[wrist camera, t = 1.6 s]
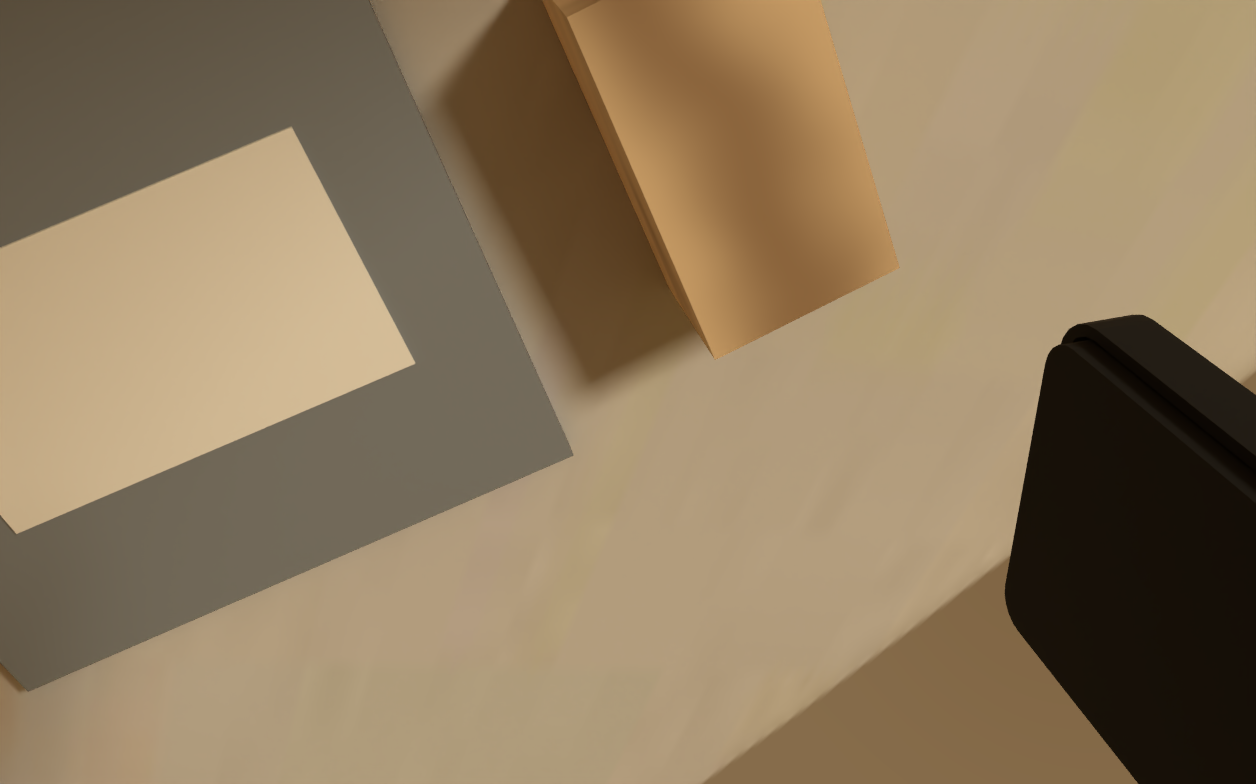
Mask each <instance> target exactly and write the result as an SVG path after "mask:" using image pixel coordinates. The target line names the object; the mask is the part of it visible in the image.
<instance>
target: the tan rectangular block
mask: <svg viewBox="0 0 1256 784" xmlns="http://www.w3.org/2000/svg"><path fill="white" fill-rule="evenodd" d="M542 2H543V4H544V6H545V8H546V11H547V13H548V15H549V18H550V20H551V22H552V24H553V27H554V29H555V31H556V33H557V36H558V38H559V40H560V42H561V45H562V47H563V49H564V51H565V54H566V56H567V58H568V61H569V63H570V65H571V67H572V70H573V72H574V74H575V76H576V79H577V81H578V83H579V85H580V88H581V90H582V92H583V95H584V97H585V99H586V101H587V104H588V106H589V108H590V110H591V113H592V115H593V117H594V119H595V122H596V124H597V126H598V128H599V131H600V133H601V135H602V138H603V140H604V142H605V144H606V147H607V149H608V151H609V153H610V156H611V158H612V160H613V162H614V165H615V167H616V169H617V171H618V174H619V176H620V178H621V181H622V183H623V185H624V187H625V190H626V192H627V194H628V196H629V199H630V201H631V203H632V205H633V208H634V210H635V212H636V214H637V217H638V219H639V221H640V224H641V226H642V228H643V230H644V233H645V235H646V237H647V239H648V242H649V244H650V246H651V248H652V251H653V253H654V255H655V257H656V260H657V262H658V264H659V267H660V269H661V271H662V273H663V276H664V278H665V280H666V282H667V285H668V287H669V289H670V291H671V292H672V294H673V295H674V297H675V298H676V300H677V302H678V303H679V305H680V306H681V308H682V309H683V311H684V312H685V314H686V315H687V317H688V319H689V320H690V322H691V323H692V325H693V326H694V328H695V329H696V331H697V333H698V334H699V336H700V337H701V339H702V340H703V342H704V343H705V345H706V347H707V348H708V350H709V351H710V353H711V354H712V356H713V357H714V359H715V360H716V359H718V358H720V357H722V356H724V355H726V354H728V353H730V352H732V351H734V350H736V349H738V348H740V347H742V346H744V345H746V344H748V343H750V342H752V341H754V340H756V339H758V338H760V337H762V336H764V335H766V334H768V333H770V332H772V331H774V330H776V329H778V328H780V327H782V326H784V325H786V324H788V323H790V322H792V321H794V320H796V319H798V318H800V317H802V316H804V315H806V314H808V313H810V312H812V311H814V310H816V309H818V308H820V307H822V306H824V305H826V304H828V303H830V302H832V301H834V300H836V299H838V298H840V297H842V296H844V295H846V294H848V293H850V292H852V291H854V290H856V289H858V288H860V287H862V286H864V285H866V284H868V283H870V282H872V281H874V280H876V279H878V278H880V277H882V276H884V275H886V274H888V273H890V272H892V271H894V270H896V269H898V268H899V264H898V261H897V257H896V254H895V251H894V247H893V244H892V241H891V237H890V234H889V230H888V227H887V224H886V220H885V217H884V213H883V210H882V207H881V203H880V200H879V197H878V193H877V190H876V186H875V183H874V180H873V176H872V173H871V169H870V166H869V163H868V159H867V156H866V153H865V149H864V146H863V142H862V139H861V136H860V132H859V129H858V125H857V122H856V119H855V115H854V112H853V109H852V105H851V102H850V98H849V95H848V92H847V88H846V85H845V81H844V78H843V75H842V71H841V68H840V65H839V61H838V58H837V54H836V51H835V48H834V44H833V41H832V37H831V34H830V31H829V27H828V24H827V21H826V17H825V14H824V10H823V7H822V4H821V0H542Z"/></svg>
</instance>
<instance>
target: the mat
mask: <svg viewBox="0 0 1256 784" xmlns="http://www.w3.org/2000/svg"><path fill="white" fill-rule="evenodd" d="M571 456H573V453H572V450H571V448H570V445H569V443H568V441H567V439H566V436H565V434H564V432H563V430H562V428H561V425H560V423H559V421H558V419H557V416H556V414H555V412H554V410H553V408H552V405H551V403H550V401H549V399H548V396H547V394H546V392H545V390H544V388H543V385H542V383H541V381H540V379H539V377H538V374H537V372H536V370H535V368H534V365H533V363H532V361H531V359H530V357H529V354H528V352H527V350H526V348H525V346H524V343H523V341H522V339H521V337H520V334H519V332H518V330H517V328H516V326H515V323H514V321H513V319H512V317H511V314H510V312H509V310H508V308H507V306H506V303H505V301H504V299H503V297H502V295H501V292H500V290H499V288H498V286H497V283H496V281H495V279H494V277H493V275H492V272H491V270H490V268H489V266H488V263H487V261H486V259H485V257H484V255H483V252H482V250H481V248H480V246H479V244H478V241H477V239H476V237H475V235H474V232H473V230H472V228H471V226H470V224H469V221H468V219H467V217H466V215H465V213H464V210H463V208H462V206H461V204H460V201H459V199H458V197H457V195H456V193H455V190H454V188H453V186H452V184H451V181H450V179H449V177H448V175H447V173H446V170H445V168H444V166H443V164H442V162H441V159H440V157H439V155H438V153H437V150H436V148H435V146H434V144H433V142H432V139H431V137H430V135H429V133H428V130H427V128H426V126H425V124H424V122H423V119H422V117H421V115H420V113H419V111H418V108H417V106H416V104H415V102H414V99H413V97H412V95H411V93H410V91H409V88H408V86H407V84H406V82H405V80H404V77H403V75H402V73H401V71H400V68H399V66H398V64H397V62H396V60H395V57H394V55H393V53H392V51H391V48H390V46H389V44H388V42H387V40H386V37H385V35H384V33H383V31H382V29H381V26H380V24H379V22H378V20H377V17H376V15H375V13H374V11H373V9H372V6H371V4H370V2H369V0H0V663H1V664H2V665H3V666H4V667H5V668H6V669H7V670H8V671H9V672H10V673H11V674H12V676H13V677H14V678H15V679H16V680H17V681H18V682H19V683H20V684H21V685H22V686H23V687H24V688H25V689H26V690H27V691H31V690H33V689H35V688H38V687H40V686H42V685H45V684H47V683H49V682H51V681H54V680H56V679H58V678H61V677H63V676H65V675H68V674H70V673H72V672H75V671H77V670H79V669H81V668H84V667H86V666H88V665H91V664H93V663H95V662H98V661H100V660H102V659H105V658H107V657H109V656H111V655H114V654H116V653H118V652H121V651H123V650H125V649H128V648H130V647H132V646H135V645H137V644H139V643H142V642H144V641H146V640H148V639H151V638H153V637H155V636H158V635H160V634H162V633H165V632H167V631H169V630H172V629H174V628H176V627H178V626H181V625H183V624H185V623H188V622H190V621H192V620H195V619H197V618H199V617H202V616H204V615H206V614H208V613H211V612H213V611H215V610H218V609H220V608H222V607H225V606H227V605H229V604H232V603H234V602H236V601H239V600H241V599H243V598H245V597H248V596H250V595H252V594H255V593H257V592H259V591H262V590H264V589H266V588H269V587H271V586H273V585H275V584H278V583H280V582H282V581H285V580H287V579H289V578H292V577H294V576H296V575H299V574H301V573H303V572H305V571H308V570H310V569H312V568H315V567H317V566H319V565H322V564H324V563H326V562H329V561H331V560H333V559H336V558H338V557H340V556H342V555H345V554H347V553H349V552H352V551H354V550H356V549H359V548H361V547H363V546H366V545H368V544H370V543H372V542H375V541H377V540H379V539H382V538H384V537H386V536H389V535H391V534H393V533H396V532H398V531H400V530H402V529H405V528H407V527H409V526H412V525H414V524H416V523H419V522H421V521H423V520H426V519H428V518H430V517H433V516H435V515H437V514H439V513H442V512H444V511H446V510H449V509H451V508H453V507H456V506H458V505H460V504H463V503H465V502H467V501H469V500H472V499H474V498H476V497H479V496H481V495H483V494H486V493H488V492H490V491H493V490H495V489H497V488H499V487H502V486H504V485H506V484H509V483H511V482H513V481H516V480H518V479H520V478H523V477H525V476H527V475H530V474H532V473H534V472H536V471H539V470H541V469H543V468H546V467H548V466H550V465H553V464H555V463H557V462H560V461H562V460H564V459H566V458H569V457H571Z"/></svg>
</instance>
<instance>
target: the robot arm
mask: <svg viewBox="0 0 1256 784" xmlns="http://www.w3.org/2000/svg"><path fill="white" fill-rule="evenodd" d="M1005 599H1006V605H1007V609H1008V612H1009V615H1010V617H1011V620H1012V622H1013V624H1014V625H1015V627H1016V628H1017V630H1018V631H1019V632H1020V634H1021V635H1022V636H1023V638H1024V639H1025V640H1026V642H1027V643H1028V644H1029V645H1030V647H1031V648H1032V649H1033V650H1034V652H1035V653H1036V654H1037V655H1038V657H1039V658H1040V659H1041V661H1042V662H1043V663H1044V664H1045V666H1046V667H1047V668H1048V669H1049V670H1050V672H1051V673H1052V675H1053V676H1054V677H1055V678H1056V680H1057V681H1058V682H1059V683H1060V685H1061V686H1062V687H1063V689H1064V690H1065V691H1066V692H1067V694H1068V695H1069V696H1070V697H1071V699H1072V700H1073V701H1074V703H1075V704H1076V705H1077V706H1078V708H1079V709H1080V710H1081V711H1082V713H1083V714H1084V715H1085V716H1086V718H1087V719H1088V720H1089V721H1090V723H1091V724H1092V725H1093V727H1094V728H1095V729H1096V730H1097V732H1098V733H1099V734H1100V736H1101V737H1102V738H1103V739H1104V741H1105V742H1106V743H1107V744H1108V746H1109V747H1110V748H1111V749H1112V751H1113V752H1114V753H1115V755H1116V756H1117V757H1118V758H1119V760H1120V761H1121V762H1122V763H1123V764H1124V766H1125V767H1126V769H1127V770H1128V771H1129V772H1130V774H1131V775H1132V776H1133V777H1134V779H1135V780H1136V781H1137V782H1138V784H1256V395H1255V394H1253V393H1252V392H1251V391H1249V390H1248V389H1247V388H1245V387H1244V386H1243V385H1241V384H1240V383H1239V382H1237V381H1236V380H1234V379H1233V378H1232V377H1230V376H1229V375H1228V374H1226V373H1225V372H1224V371H1222V370H1221V369H1219V368H1218V367H1217V366H1215V365H1214V364H1213V363H1211V362H1210V361H1209V360H1207V359H1206V358H1204V357H1203V356H1202V355H1200V354H1199V353H1198V352H1196V351H1195V350H1194V349H1192V348H1191V347H1189V346H1188V345H1187V344H1185V343H1184V342H1183V341H1181V340H1180V339H1178V338H1177V337H1176V336H1174V335H1173V334H1172V333H1170V332H1169V331H1168V330H1166V329H1165V328H1163V327H1162V326H1161V325H1159V324H1158V323H1157V322H1155V321H1154V320H1152V319H1150V318H1148V317H1146V316H1144V315H1129V316H1123V317H1117V318H1111V319H1106V320H1100V321H1094V322H1088V323H1082V324H1077V325H1075V326H1074V327H1072V328H1070V329H1069V330H1068V331H1067V333H1066V334H1065V336H1064V337H1063V339H1062V343H1061V345H1058V346H1056V347H1054V348H1052V350H1051V351H1050V353H1049V354H1048V357H1047V360H1046V363H1045V368H1044V374H1043V379H1042V385H1041V390H1040V396H1039V401H1038V407H1037V412H1036V418H1035V424H1034V429H1033V435H1032V440H1031V446H1030V451H1029V457H1028V462H1027V468H1026V473H1025V479H1024V484H1023V490H1022V495H1021V501H1020V506H1019V512H1018V517H1017V523H1016V529H1015V534H1014V540H1013V545H1012V551H1011V556H1010V562H1009V567H1008V573H1007V579H1006V584H1005Z"/></svg>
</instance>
